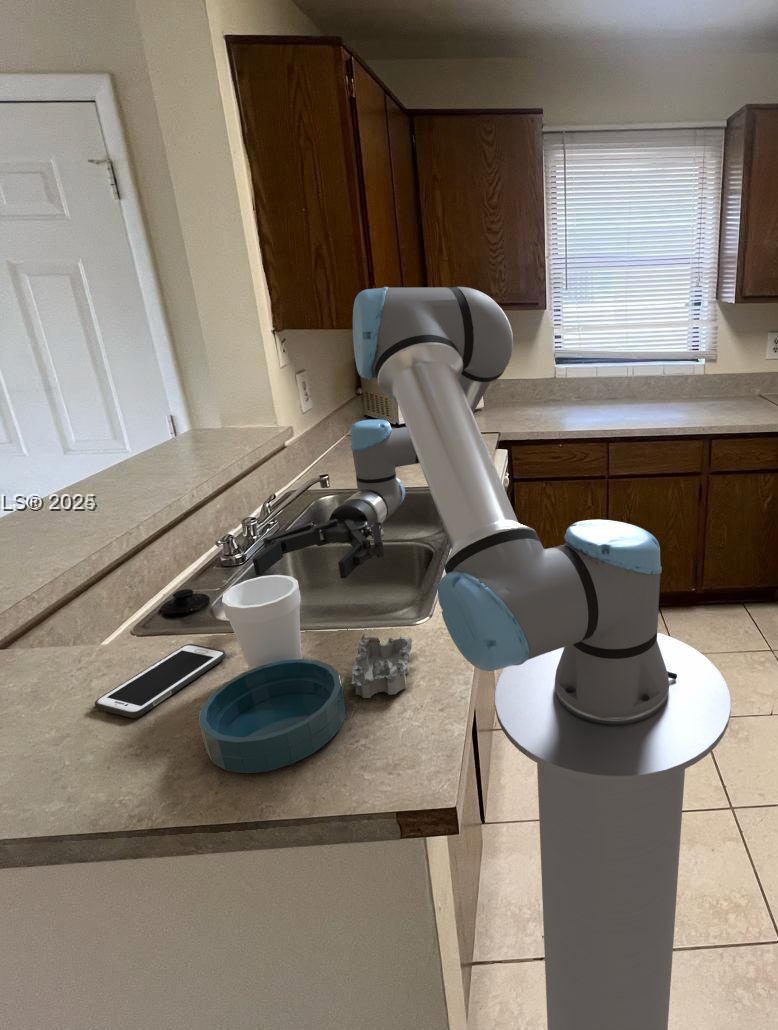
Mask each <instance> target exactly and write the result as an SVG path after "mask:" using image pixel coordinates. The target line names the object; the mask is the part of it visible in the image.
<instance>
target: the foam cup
mask: <svg viewBox="0 0 778 1030" xmlns="http://www.w3.org/2000/svg"><path fill="white" fill-rule="evenodd" d="M301 597H302V596H301V591H300V586H299V580H298V579H296V578H294V577H292V576H290V575H282V574H272V575H260V576H258V577H254V578H250V579H245V580H243V581H242V582H238V583H237V584H235V585H233V586H231V587H230V588H228V589H227V590H226V591H225V592H224V593H223V594H222V599H221V602H222V607H223V611H224V615H225V618H226V619H228V622H229V623H230V626H231V628H232V631H233V633H234V635H235V638H236V640H237V643H238V645H239V647H240V650H241V652H242V655H243V658H244V661H245V662H246V664H247V666H248V667H247V668H248V669H249V670H251V669H254V668H256V667H259V666H261V665H266V664H270V663H274V662H278V661H283V660H294V659H302V643H301V613H300V611H301V609H300V608H301V607H300V604H301V602H302V599H301Z"/></svg>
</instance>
